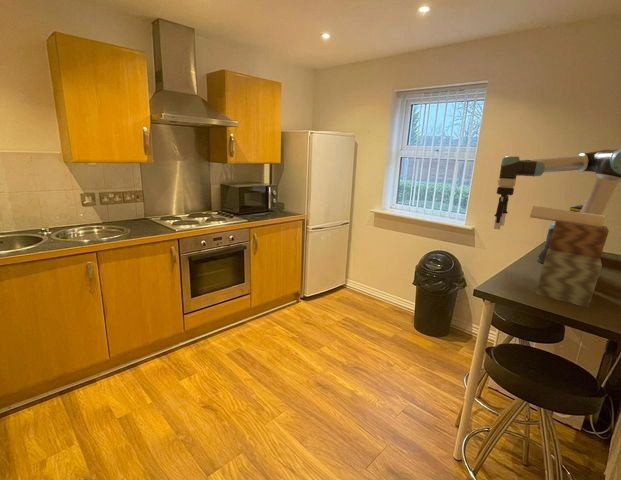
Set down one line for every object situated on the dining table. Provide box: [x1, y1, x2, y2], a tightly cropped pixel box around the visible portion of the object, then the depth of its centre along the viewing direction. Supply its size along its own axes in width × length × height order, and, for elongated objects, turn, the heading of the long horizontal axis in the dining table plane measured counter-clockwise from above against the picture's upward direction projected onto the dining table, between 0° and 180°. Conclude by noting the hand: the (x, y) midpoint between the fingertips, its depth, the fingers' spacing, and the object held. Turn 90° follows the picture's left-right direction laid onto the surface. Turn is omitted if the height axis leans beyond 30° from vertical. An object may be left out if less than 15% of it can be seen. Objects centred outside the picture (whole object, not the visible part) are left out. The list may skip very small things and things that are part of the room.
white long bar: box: [529, 205, 606, 228], centre depth 149 cm, size 26×4×5 cm, turn 52°
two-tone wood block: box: [535, 221, 610, 308], centre depth 145 cm, size 18×26×30 cm
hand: (498, 227), depth 177 cm, fingers open, 13 cm apart
